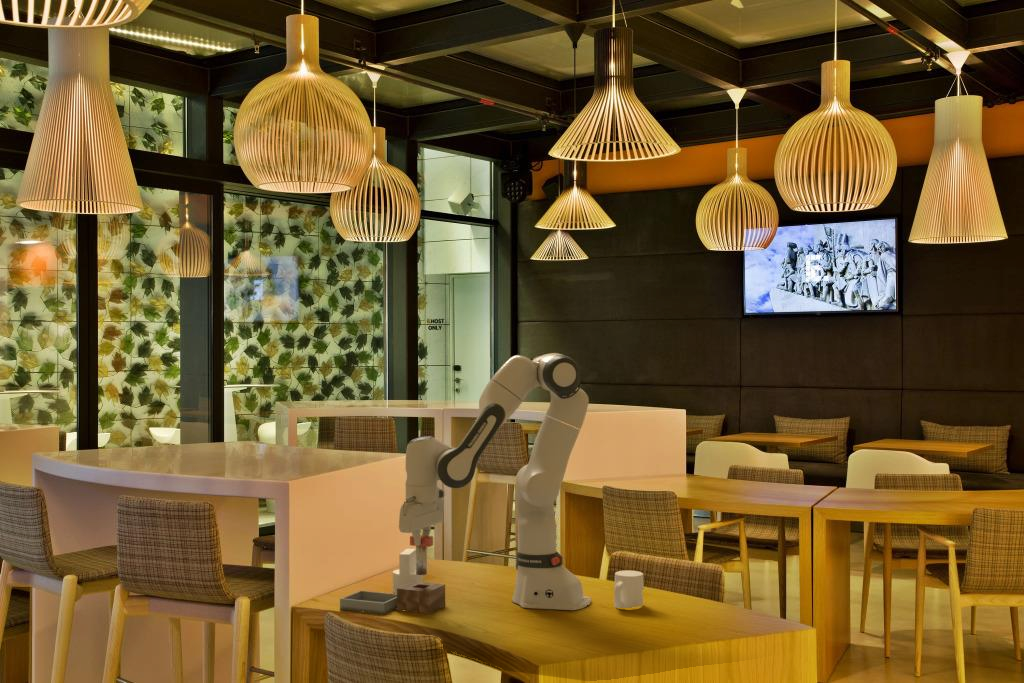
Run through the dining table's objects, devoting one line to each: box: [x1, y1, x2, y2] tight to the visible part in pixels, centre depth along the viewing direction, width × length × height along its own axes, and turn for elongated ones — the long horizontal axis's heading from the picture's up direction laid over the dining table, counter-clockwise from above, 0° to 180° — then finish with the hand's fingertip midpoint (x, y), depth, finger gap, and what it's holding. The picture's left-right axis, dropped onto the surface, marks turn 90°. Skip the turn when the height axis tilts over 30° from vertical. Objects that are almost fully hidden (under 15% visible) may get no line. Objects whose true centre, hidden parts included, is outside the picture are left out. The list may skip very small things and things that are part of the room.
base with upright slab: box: [392, 548, 424, 594], centre depth 315 cm, size 9×9×12 cm
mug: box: [613, 569, 645, 608], centre depth 296 cm, size 12×9×8 cm
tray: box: [339, 590, 397, 615], centre depth 296 cm, size 14×11×3 cm
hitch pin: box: [409, 534, 434, 576], centre depth 295 cm, size 6×3×10 cm, turn 67°
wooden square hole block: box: [396, 581, 446, 614], centre depth 295 cm, size 10×10×6 cm
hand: (421, 543), depth 295 cm, fingers closed on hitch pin, 2 cm apart
